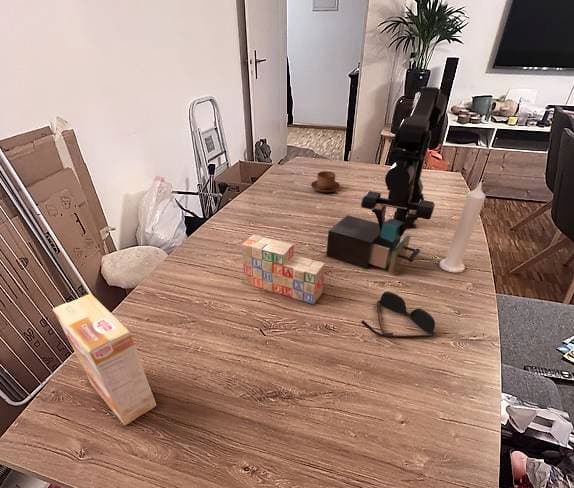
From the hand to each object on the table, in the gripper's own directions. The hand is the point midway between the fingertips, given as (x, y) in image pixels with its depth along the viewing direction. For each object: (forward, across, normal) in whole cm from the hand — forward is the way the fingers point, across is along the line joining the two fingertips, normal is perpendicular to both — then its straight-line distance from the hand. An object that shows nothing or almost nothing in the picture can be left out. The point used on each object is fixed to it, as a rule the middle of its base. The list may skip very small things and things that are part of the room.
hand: (391, 233), depth 107 cm
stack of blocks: (+10, +23, +25) cm, 35 cm away
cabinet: (+10, +10, -2) cm, 14 cm away
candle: (+10, -19, -6) cm, 22 cm away
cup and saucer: (+10, +36, -48) cm, 61 cm away
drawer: (+9, 0, 0) cm, 9 cm away
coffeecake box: (+10, +37, +72) cm, 82 cm away
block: (+1, 0, 0) cm, 1 cm away
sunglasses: (+10, -8, +30) cm, 33 cm away
